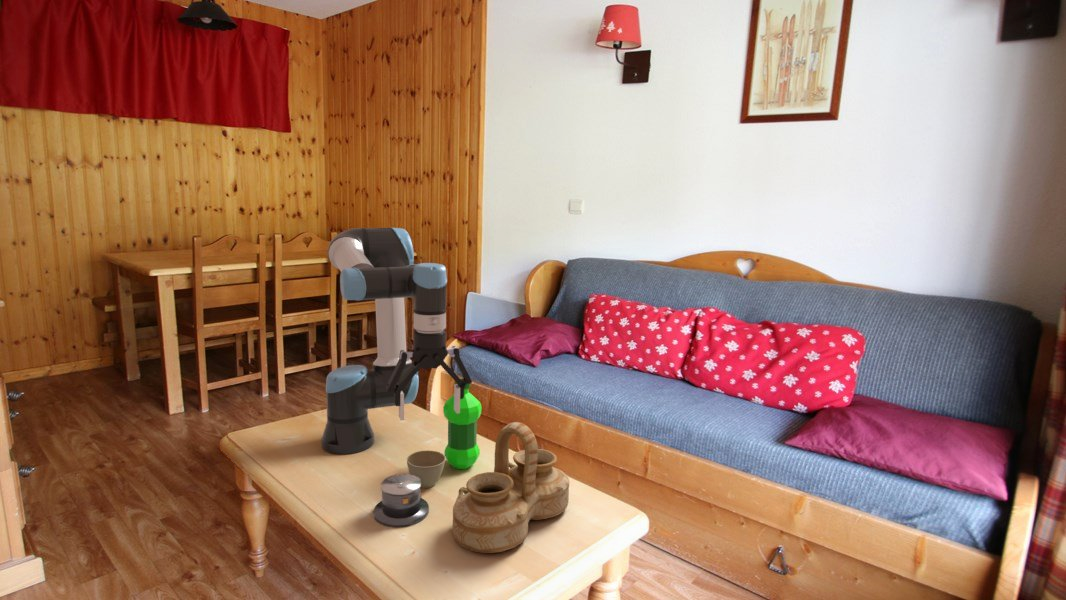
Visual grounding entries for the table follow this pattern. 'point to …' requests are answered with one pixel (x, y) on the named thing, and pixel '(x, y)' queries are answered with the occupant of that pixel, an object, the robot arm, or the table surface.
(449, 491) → the table surface
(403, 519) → the grey top hat
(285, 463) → the table surface
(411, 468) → the flower pot
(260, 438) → the table surface
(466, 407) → the plastic bottle
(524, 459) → the ceramic vessel
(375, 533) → the table surface
